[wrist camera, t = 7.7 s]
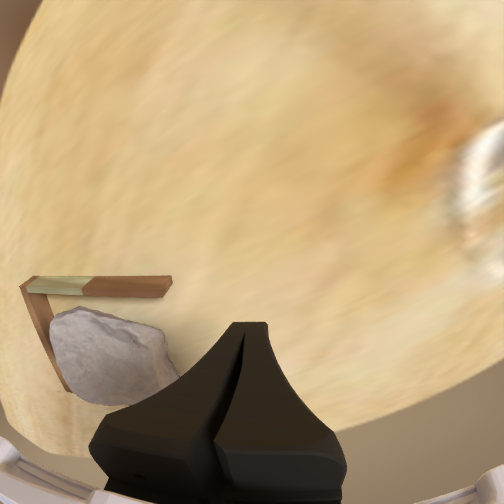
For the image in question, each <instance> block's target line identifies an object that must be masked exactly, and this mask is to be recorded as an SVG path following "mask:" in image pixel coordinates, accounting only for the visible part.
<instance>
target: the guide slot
mask: <svg viewBox="0 0 504 504" xmlns="http://www.w3.org/2000/svg"><path fill="white" fill-rule="evenodd" d="M172 283H173V282H172V277H171V276H33V277H31V278H30V279H29V280H27V281H26V282H24V283H23V284H22V285H20V286H19V287H20V289H21V292H22V295H23V298H24V301H25V303H26V306H27V309H28V311H29V314H30V316H31V319H32V321H33V324H34V326H35V328H36V331H37V333H38V335H39V338H40V340H41V342H42V344H43V347H44V349H45V351H46V353H47V355H48V357H49V359H50V361H51V363H52V365H53V367H54V369H55V371H56V373H57V375H58V377H59V379H60V381H61V383H62V384H63V386H64V388H65V390H66V391H67V392H71V393H74V392H73V391H72V390H71V389H70V388H69V386H68V385H67V383H66V382H65V380H64V378H63V376H62V372H61V370H60V368H59V367H58V366H57V362H56V358H55V354H54V351H53V347H52V344H51V341H50V332H49V330H50V323H51V321H52V320H53V318H54V316H53V314H52V311H51V308H50V305H49V303H48V300H47V297H46V294H63V295H86V296H118V297H163V296H164V295H165V293H166V292H167V290H168V289H169V287H170V286H171V285H172Z"/></svg>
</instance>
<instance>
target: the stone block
mask: <svg viewBox="0 0 504 504" xmlns="http://www.w3.org/2000/svg"><path fill="white" fill-rule="evenodd" d="M49 332H50V341H51V344H52V347H53V351H54V354H55V358H56V362H57V366H58V367H59V368H60V370H61V372H62V376H63V378H64V380H65V382H66V383H67V385H68V386H69V388H70V389H71V390H72V391H73V392H74V393H75V394H76V395H77V396H78V397H80V398H82V399H83V400H85V401H87V402H89V403H95V404H102V405H109V406H114V405H134V404H136V403H138V402H140V401H142V400H144V399H146V398H148V397H150V396H152V395H154V394H156V393H157V392H159V391H160V390H162V389H164V388H165V387H167V386H168V385H170V384H171V383H173V382H175V381H176V380H177V379H179V378H180V377H179V375H178V373H177V371H176V370H175V368H174V366H173V364H172V362H171V361H170V360H169V357H168V353H167V343H166V340H165V335H164V333H163V331H161V330H160V329H156V328H154V327H150V326H147V325H142V324H139V323H136V322H132V321H125V320H123V319H121V318H118V317H115V316H113V315H112V314H107V313H103V312H100V311H97V310H91V309H88V308H86V307H82V306H78V307H76V308H74V309H72V310H70V311H66V312H62V313H58V314H57V315H55V317H54V318H53V320H52V321H51V323H50V330H49Z"/></svg>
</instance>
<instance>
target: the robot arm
mask: <svg viewBox="0 0 504 504" xmlns="http://www.w3.org/2000/svg"><path fill="white" fill-rule="evenodd" d="M88 447H89V452H90V454H91V455H92V457H93V459H94V460H95V461H96V463H97V464H98V465H99V466H100V467H101V469H102V470H103V471H104V472H105V473H106V475H107V476H108V477H109V479H108V481H107V483H106V486H105V488H104V490H102V489H99V488H96V487H93V486H91V485H88V484H85V483H83V482H80V481H77V480H75V479H72V478H69V477H67V476H65V475H62V474H60V473H58V472H56V471H54V470H51V469H49V468H47V467H45V466H43V465H41V464H39V463H37V462H35V461H32V460H31V459H29V458H27V457H25V456H23V455H21V453H20V452H19V451H18V449H17V448H16V447H15V446H14V445H13V444H12V443H11V442H10V441H8V440H7V439H5V438H3V437H1V436H0V500H1V501H2V502H3V503H4V504H341V500H342V490H341V486H342V484H343V481H344V478H345V475H346V472H347V465H346V460H345V457H344V454H343V451H342V448H341V446H340V444H339V442H338V440H337V438H336V435H335V434H334V432H333V431H332V430H331V429H330V428H328V427H327V426H326V425H325V424H324V423H323V422H322V421H321V420H319V419H318V418H317V417H316V416H315V415H314V414H313V413H312V412H311V410H310V409H309V408H308V407H307V406H306V405H305V404H304V402H303V401H302V400H301V399H300V398H299V396H298V395H297V394H296V392H295V391H294V390H293V388H292V387H291V385H290V384H289V382H288V380H287V379H286V377H285V375H284V374H283V372H282V370H281V368H280V366H279V364H278V362H277V360H276V357H275V355H274V352H273V350H272V347H271V344H270V341H269V336H268V324H267V323H266V322H233V323H232V324H231V325H230V326H229V327H228V329H227V330H226V331H225V333H224V334H223V335H222V336H221V337H220V339H219V340H218V341H217V342H216V343H215V344H214V346H213V347H212V348H211V349H210V350H209V351H208V352H207V353H206V354H205V355H204V356H203V357H202V358H201V359H200V360H199V361H198V362H197V363H196V364H195V365H194V366H193V367H192V368H191V369H190V370H189V371H187V372H186V373H185V374H184V375H183V376H181V377H180V378H179V379H177V380H176V381H175V382H173V383H171V384H170V385H168V386H167V387H165V388H164V389H162V390H160V391H159V392H157V393H156V394H154V395H152V396H150V397H148V398H146V399H144V400H142V401H140V402H138V403H136V404H134V405H131V406H129V407H126V408H123V409H121V410H118V411H115V412H113V413H110V414H106V416H105V417H104V419H103V420H102V422H101V423H100V425H99V427H98V429H97V431H96V432H95V434H94V436H93V438H92V440H91V442H90V444H89V446H88ZM413 504H504V464H502V465H500V466H498V467H495V468H493V469H491V470H489V471H488V472H486V473H485V474H483V475H482V476H481V477H480V478H479V479H478V481H477V482H476V484H474V485H471V486H469V487H466V488H463V489H460V490H457V491H454V492H452V493H448V494H445V495H442V496H438V497H435V498H432V499H428V500H424V501H421V502H417V503H413Z"/></svg>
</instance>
